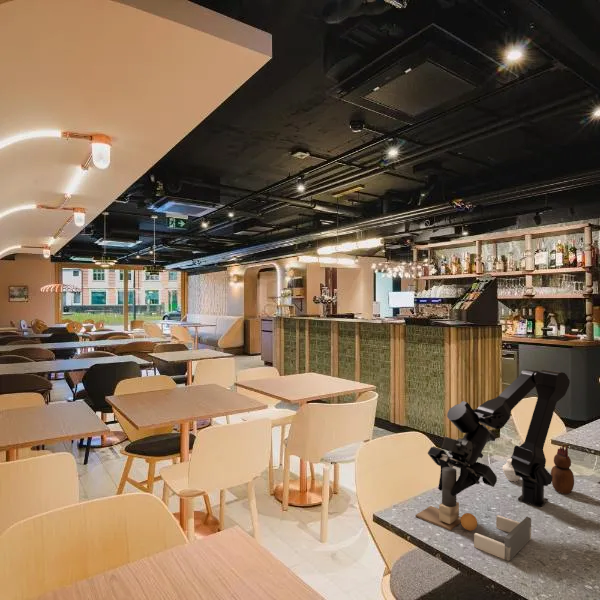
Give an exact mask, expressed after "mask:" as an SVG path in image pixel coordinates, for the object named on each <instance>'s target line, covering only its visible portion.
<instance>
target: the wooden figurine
mask: <svg viewBox="0 0 600 600" xmlns="http://www.w3.org/2000/svg"><path fill="white" fill-rule="evenodd" d="M568 447H569V445H568V444H566V445H564V444H562V447H561V446H559V448H557V452H556V454H555V455H554V457H553V464H554V466H552V468H551V470H550V474H551V476H552V477H553V478H552V482H551V485H552V487H553V489H554V490H555V491H556V492H558V493H560V494H566V495H567V494H569V495H570V493H572V491H573V489H574V486H575V476H574V472H573V470H572V469H571V467H572V466H571V465H572V460H571V458H570V456H569V449H568Z"/></svg>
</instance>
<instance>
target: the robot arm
mask: <svg viewBox="0 0 600 600" xmlns="http://www.w3.org/2000/svg"><path fill="white" fill-rule="evenodd" d="M570 382H571V380H570V379H569V377H568V375H567V373H565V372H562V371H556V370H552V369H551V370H550V369H542V370H540V371H539V370H536V369H535V370H534V369H528V368H526V369H523V370H522V371H521V372H520V374H519V376H518V377H516V378H515V380H513V381H512V383H510V384H509V385H508V386H507V387H506V388H505V389H504V390H503V391H502V392H501V393H500V394H499V395H497V396H496V397H494V398H492V399H489V400H487V401H485V402H483V403H481V404H480V405H479V406H478V407H476V408H473V407H472V406H471V404H470V403H469V402H467V401H463V400H462V401H461V402H460V403H459V404H458V403H457V404H455V405H454V406H452V407H450V408H448V411H447V414H446V417H447V418H448V420H449V421H450V422H451V423H452V425H454V426H455V428H457V430H458V431H459V432H460V433H462V434H464V435H463V437H462V438H458V439H454V438H451V437H447V436H444V437H443V443H442V445H441V448H439V447H436V446H431V447H430V448H429V449H428V452H427V454H428V456H429V457H430V458H431V460H432V461H433V462H434V463H435V464H436V465H438V466H439V467H440V473H439V475H440V476H439V482H438V488H437V489H438V490H439V491H441V492H442V468H444V467H451V468H454V467H455V468H458V469H460V470H459V471H460V472H459V476H458V478H457V479H456V483H455V485H454V487H453V489H452V491H451V495H452V496H455V495H456V496H457V495H459V494H460V493H462V492H463V491H464V490H466V489H468V488H470V487H472V486H474V485H480V478H481V480H482V482H483V484H484V485H487V486H491V487H495V485H496V483H497V481H498V477H497V474H496V473H495V472H494V471H493V469H492V468H491V467H490V465H487V464H484V463H481V462H478V459H479V458H480V459H482V458H483V457H484V455H483V453H482V452H483V450H484V448H485V447H486V444H487V442H488V441H492V442H495V441H496V437H495V435H494V431H493V430H489V429H488V427H489V428H493V429H495V430H501V429H502V428H504V427H505V426H506V424H507V423H508V421H509V420H510V419H511V413H512V411H513V409H515V407H516V406H517V405H518V404H519V403H521V401H522V400H523V399H524V398H525V397H526V396H528V394H529V393H530V392H531V391H533V389H534V388H535V391H536V395H537V399H536V402H535V406H534V409H533V411H532V416H531V419H530V422H529V426H528V430H527V433H526V436H525V439H524V442H523V443H522V444H520V446H519V445H514V447H513V452H512V455H511V456H510V459H512V461H511V465H512V466H513V469H514V472H515V475H516V476H519V477H520V479H521V495H520V496H518V497H517V501H520V502H522V503H525V504H529V505H532V506H535V507H539V508H542V507H543V506H545V505H546V504H547V503H548V501H549V498H547V497H545V487H548V486H549V485H552V478H553V477H552V476H551V472H549V471H548V470H547V468H546V462H547V459H546V456H545V451H544V447H545V444H546V440H547V436H548V433H549V429H550V427H551V423H552V419H553V416H554V412H555V409H556V406H557V403H558V402H559V401H560V400H561V399H562V398H564V397H565V396H566V393H567V391H568V390H569V387H570ZM444 449H445V450H447V451H448V454H449V455H450V456H449V455H448V454H447V452H446V451H445V450H444ZM451 456H452V457H451Z"/></svg>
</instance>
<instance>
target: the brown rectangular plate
mask: <svg viewBox="0 0 600 600" xmlns="http://www.w3.org/2000/svg"><path fill="white" fill-rule="evenodd" d="M461 517H462V516H460V515H459V518H458V519H457V520H455V521H454V522H452V523H451V524H448V523H445V522H443V521H440V520H439V508H437V507H435V506H433V505H429V506H428V507H426V508H424V509H423V510H421V511H420V512H418V513H416V514H415V518H417V519H420V520H422V521H424V522H427V523H430V524H433V525H435V526H437V527H440V528H443V529H445V530H447V531H452V530H453V529H455V528H456V527H458V526H459V525H460V524H461Z"/></svg>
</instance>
